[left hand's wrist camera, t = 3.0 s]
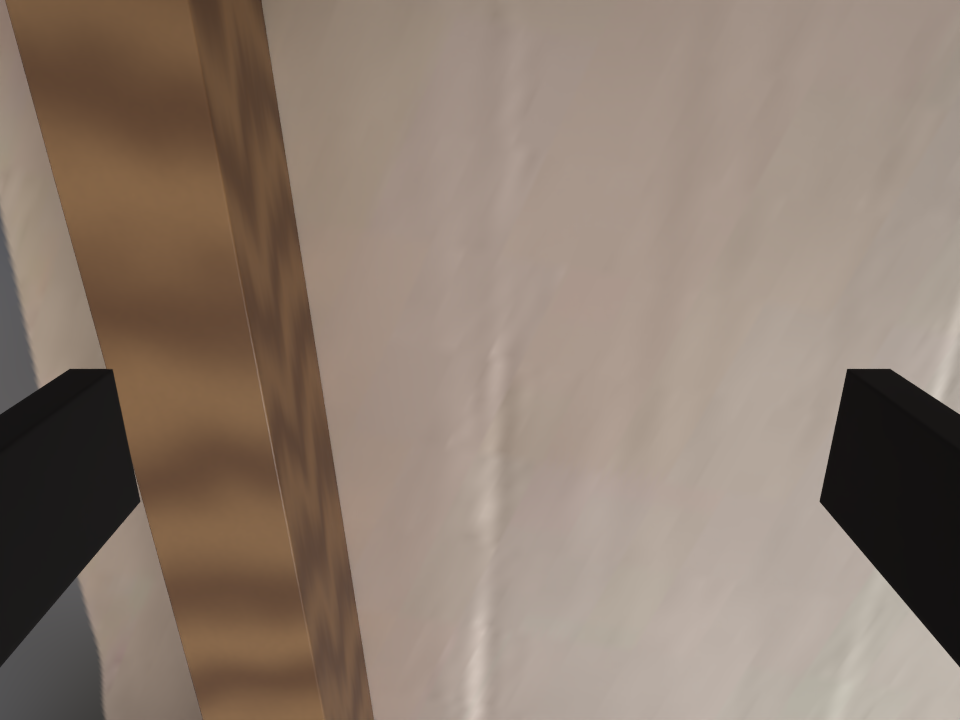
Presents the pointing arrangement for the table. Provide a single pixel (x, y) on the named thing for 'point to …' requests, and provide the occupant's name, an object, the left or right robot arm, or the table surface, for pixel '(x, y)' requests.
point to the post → (205, 335)
